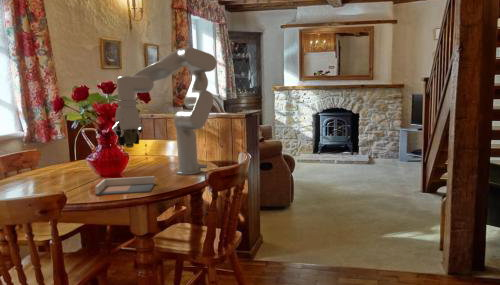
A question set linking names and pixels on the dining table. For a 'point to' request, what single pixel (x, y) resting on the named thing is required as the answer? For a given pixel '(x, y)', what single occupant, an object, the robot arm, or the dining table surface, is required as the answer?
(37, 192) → the dining table surface
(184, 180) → the dining table surface
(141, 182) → the corner walls
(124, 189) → the mat
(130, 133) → the cup
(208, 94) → the robot arm
